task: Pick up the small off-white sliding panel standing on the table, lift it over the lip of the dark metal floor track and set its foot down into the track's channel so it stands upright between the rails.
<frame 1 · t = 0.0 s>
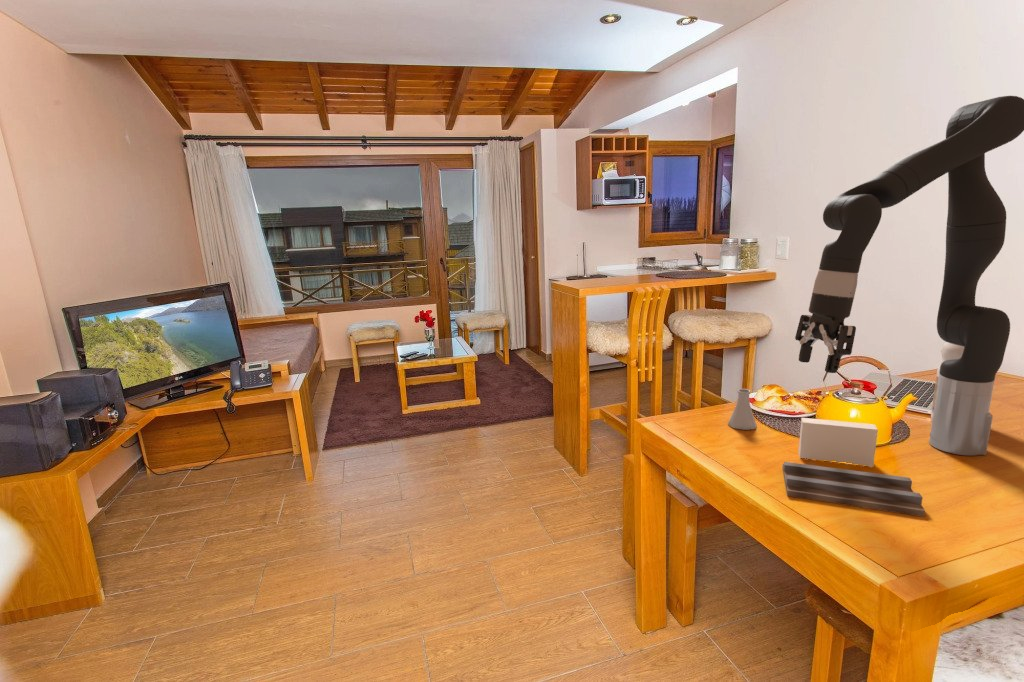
hand: (816, 366, 107), 22 cm above the table, tool pointing down, fingers open, 8 cm apart
flask: (742, 426, 133), on the table
fruit juice: (953, 423, 128), on the table
track: (846, 490, 100), on the table
panel: (834, 460, 112), on the table
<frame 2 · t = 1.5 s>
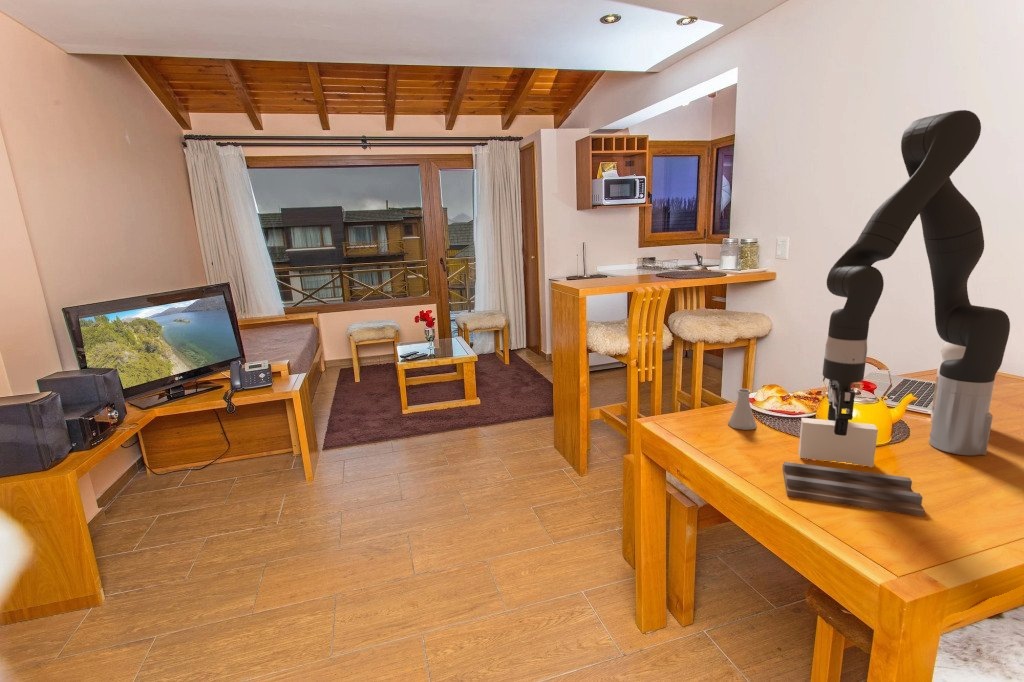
hand: (836, 427, 110), 8 cm above the table, tool pointing down, fingers open, 8 cm apart
nothing on the table moved.
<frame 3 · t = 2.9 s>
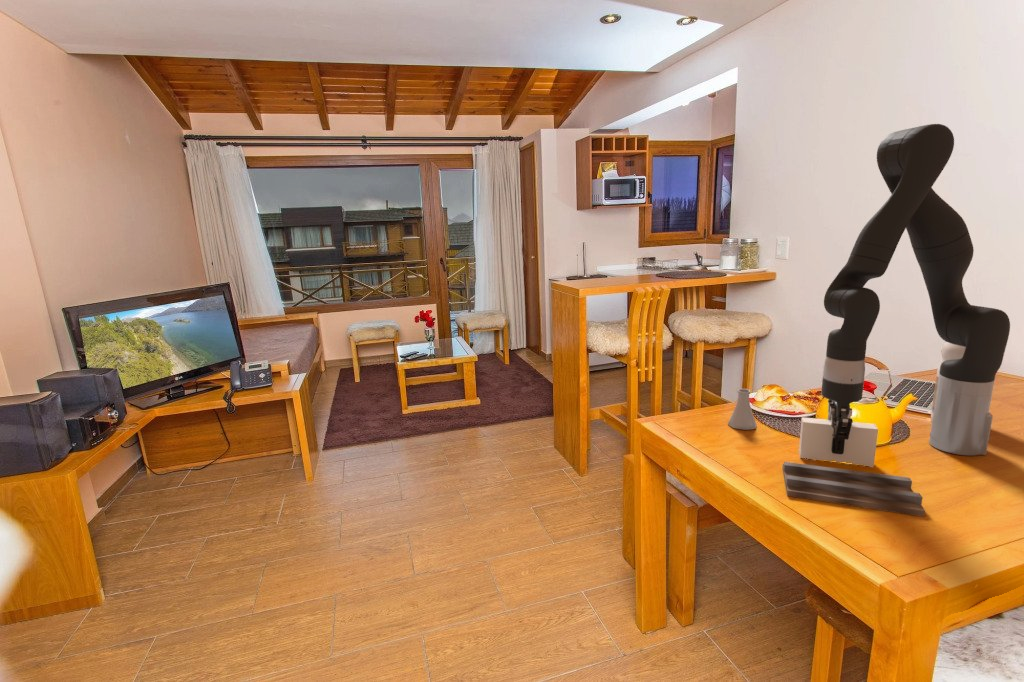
hand: (835, 449, 111), 3 cm above the table, tool pointing down, fingers closed on panel, 3 cm apart
panel: (834, 459, 112), on the table, touching gripper
everything else where it was.
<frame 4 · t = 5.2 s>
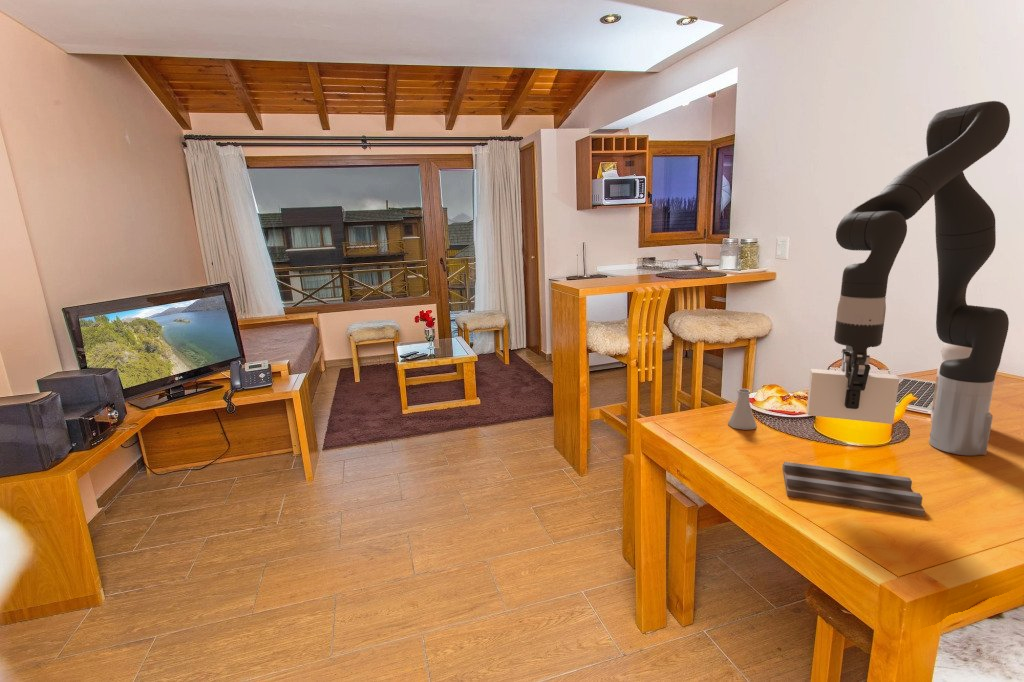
hand: (849, 404, 98), 18 cm above the table, tool pointing down, fingers closed on panel, 3 cm apart
panel: (847, 416, 98), point 15 cm above the table, touching gripper
everything else where it was.
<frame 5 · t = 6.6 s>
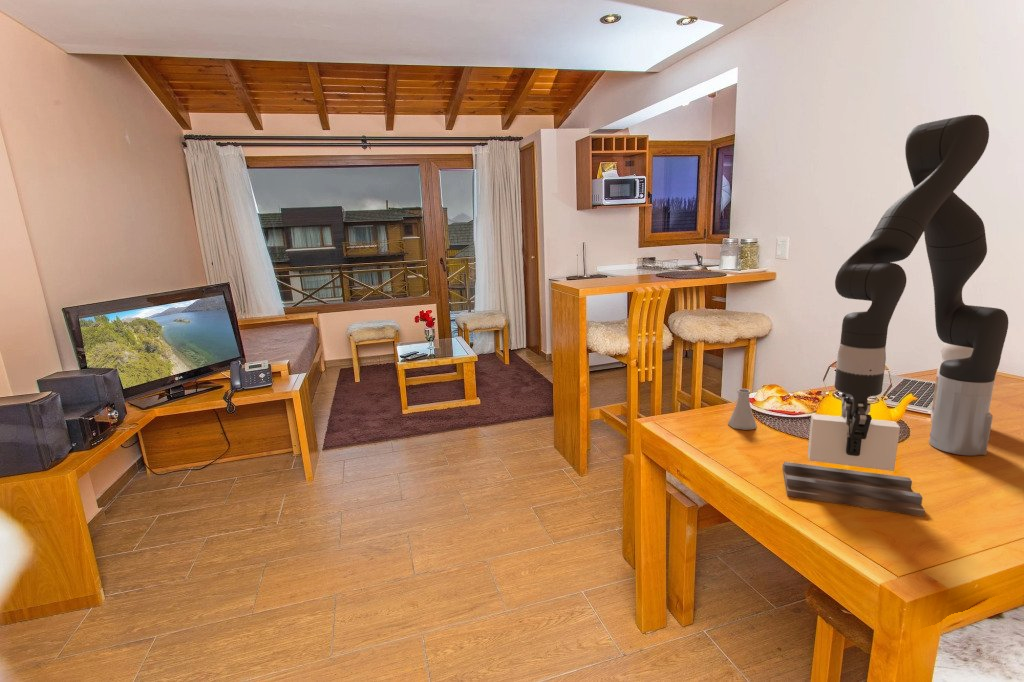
hand: (850, 450, 98), 9 cm above the table, tool pointing down, fingers closed on panel, 3 cm apart
panel: (849, 462, 98), point 6 cm above the table, touching gripper
everything else where it was.
when the fingers open (5 cm above the table, at t = 7.6 s): panel drops 1 cm, resting on track.
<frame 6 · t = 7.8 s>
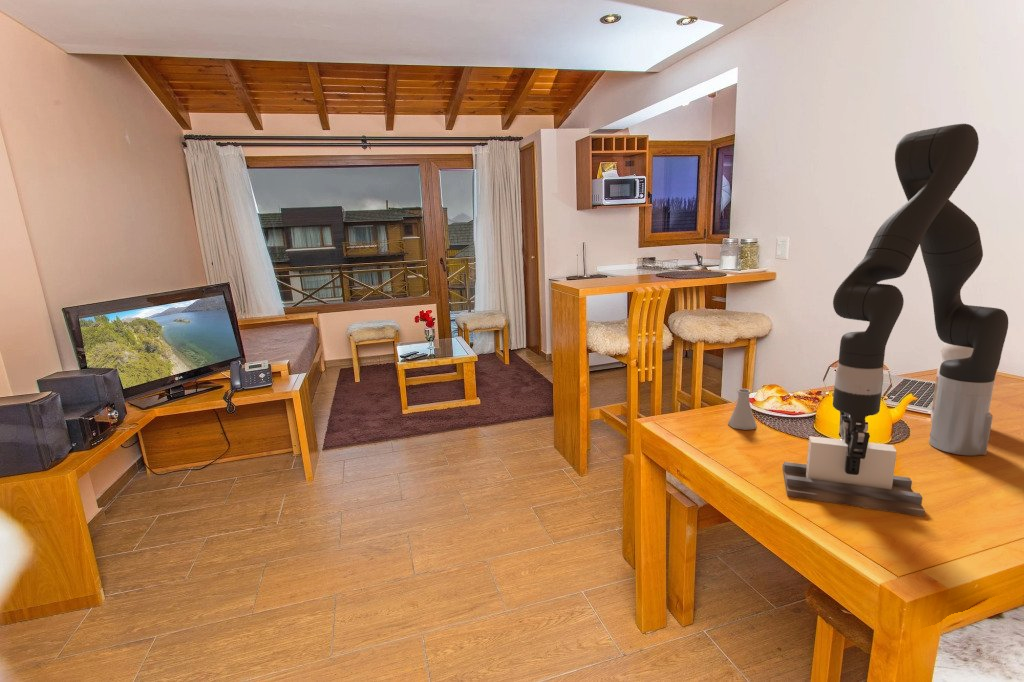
hand: (848, 467, 99), 5 cm above the table, tool pointing down, fingers open, 4 cm apart
panel: (846, 484, 100), point 1 cm above the table, touching track
everything else where it was.
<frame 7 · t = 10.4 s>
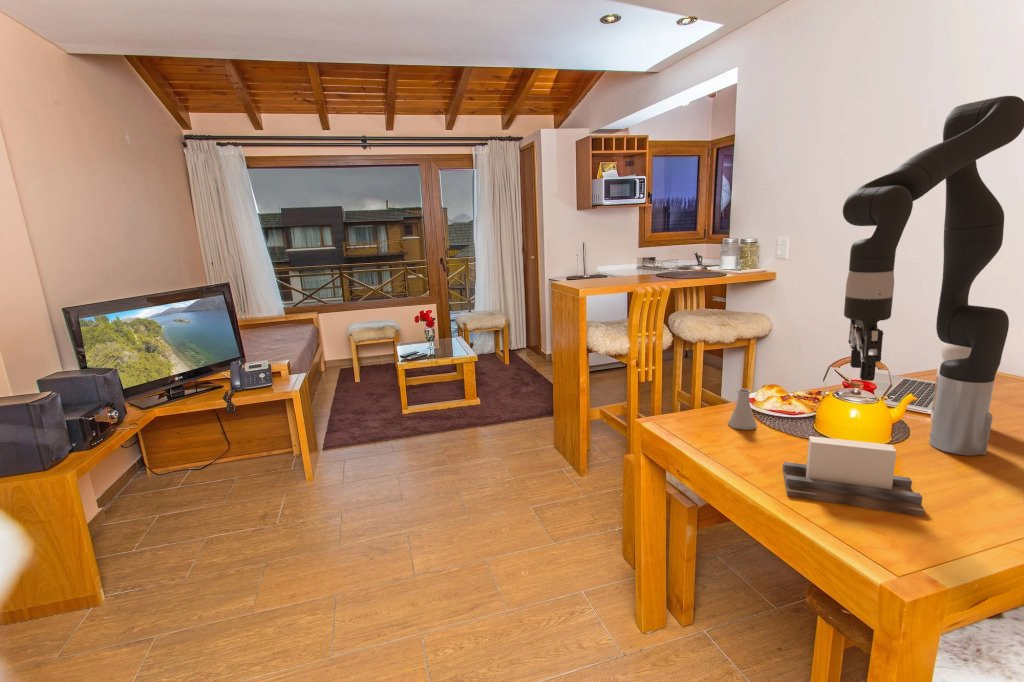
hand: (861, 373, 99), 23 cm above the table, tool pointing down, fingers open, 8 cm apart
nothing on the table moved.
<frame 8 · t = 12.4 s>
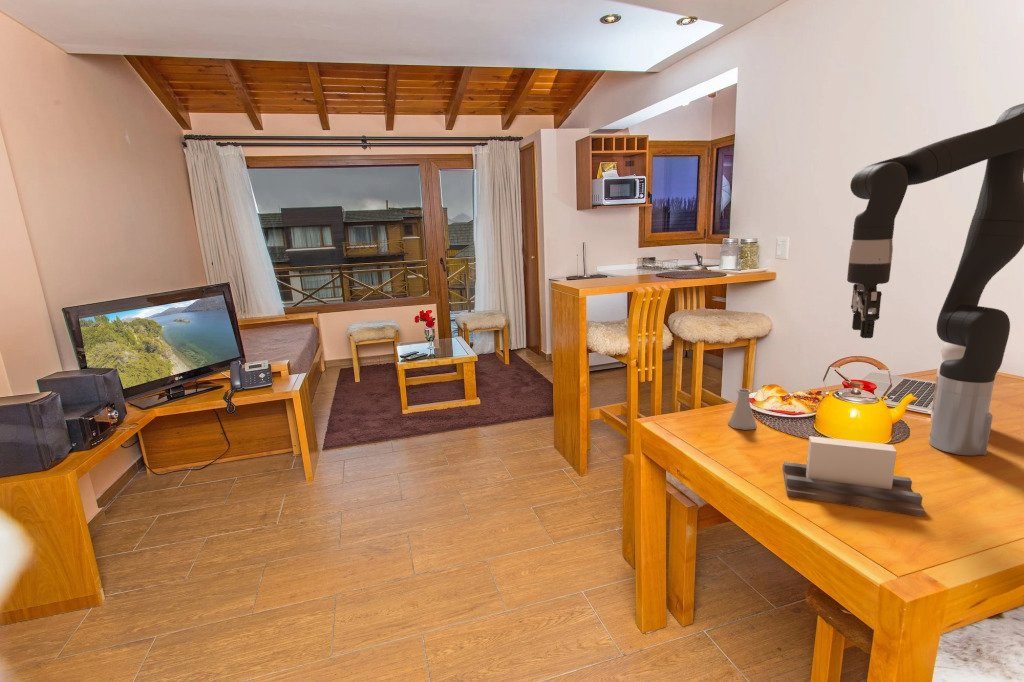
hand: (861, 333, 110), 28 cm above the table, tool pointing down, fingers open, 8 cm apart
nothing on the table moved.
at the end: panel inside the target area on the track (0.1 cm from its centre), point 1.2 cm above the track's base; panel tilted 0°; the gripper is holding nothing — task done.
